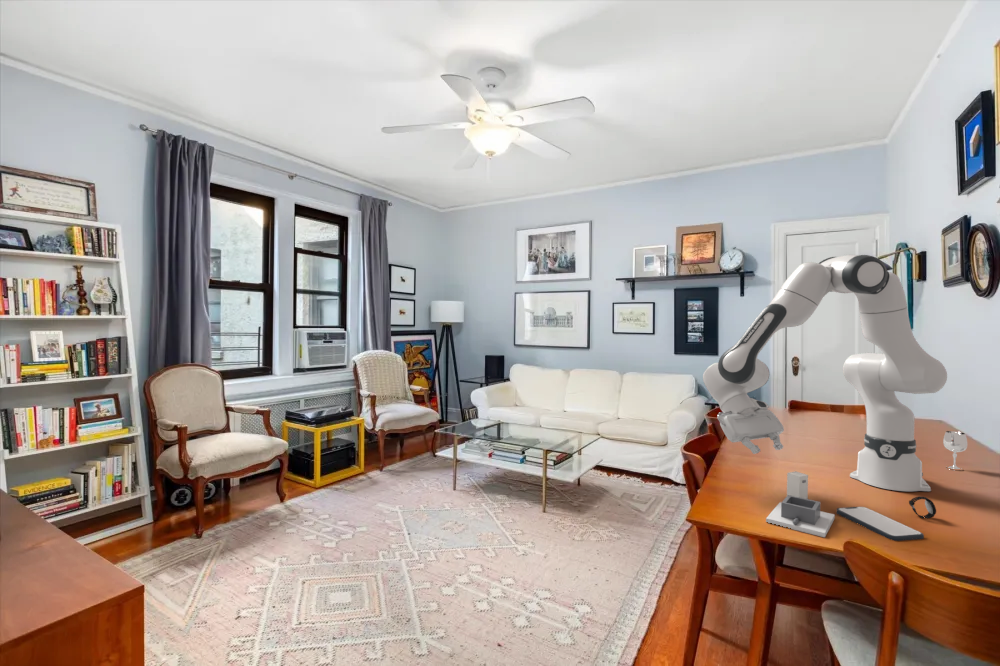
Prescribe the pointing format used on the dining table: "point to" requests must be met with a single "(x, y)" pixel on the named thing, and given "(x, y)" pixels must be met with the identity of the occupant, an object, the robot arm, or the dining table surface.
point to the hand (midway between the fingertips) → (769, 450)
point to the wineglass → (955, 444)
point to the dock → (801, 516)
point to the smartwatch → (928, 504)
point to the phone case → (879, 523)
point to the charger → (797, 484)
